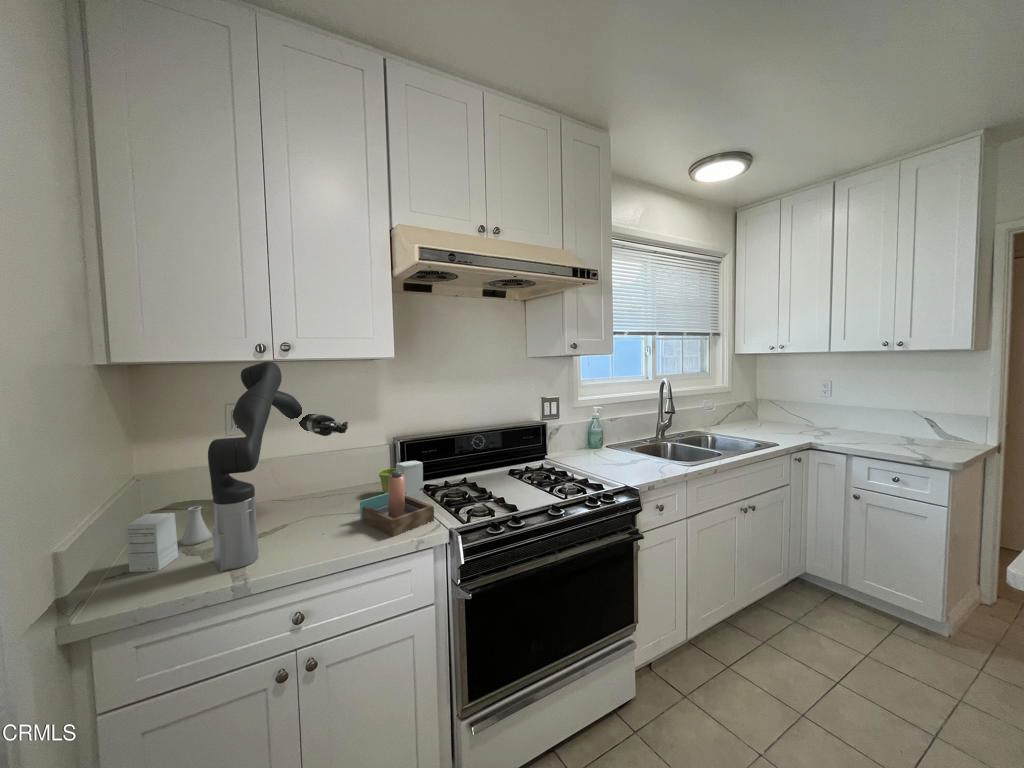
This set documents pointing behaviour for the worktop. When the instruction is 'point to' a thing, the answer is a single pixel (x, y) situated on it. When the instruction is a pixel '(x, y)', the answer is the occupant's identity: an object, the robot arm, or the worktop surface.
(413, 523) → the wooden storage box
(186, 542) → the flask
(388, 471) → the plant pot
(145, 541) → the supplement box
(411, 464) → the skincare box
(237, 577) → the worktop surface
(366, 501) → the tray
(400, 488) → the bottle
